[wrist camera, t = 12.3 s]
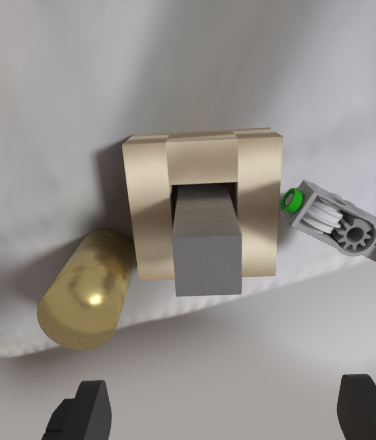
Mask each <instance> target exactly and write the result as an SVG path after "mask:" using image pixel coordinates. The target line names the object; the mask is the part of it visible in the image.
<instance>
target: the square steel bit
mask: <svg viewBox="0 0 376 440" xmlns="http://www.w3.org/2000/svg"><path fill="white" fill-rule="evenodd" d="M172 249H173V262H174V275H175V287H176V296H206V295H235V294H241V291H242V233H241V230H240V227H239V224H238V220H237V217H236V214H235V211H234V208H233V204H232V201H231V198H230V195H229V191H228V188H227V185H226V182H223V183H202V184H180V185H179V189H178V196H177V203H176V210H175V217H174V225H173V232H172Z"/></svg>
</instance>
